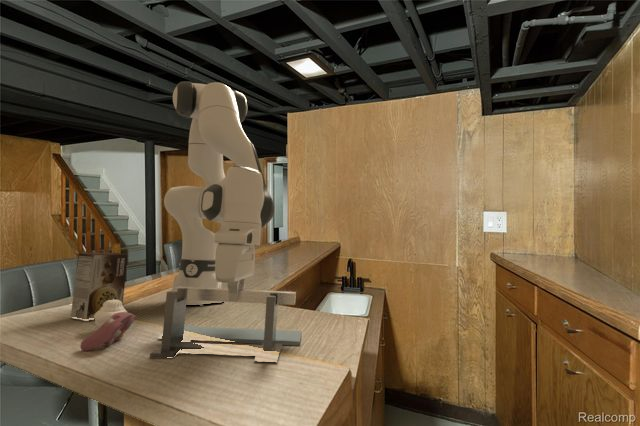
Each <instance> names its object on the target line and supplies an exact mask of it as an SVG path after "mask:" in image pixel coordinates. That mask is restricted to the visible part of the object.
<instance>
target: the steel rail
mask: <svg viewBox="0 0 640 426" xmlns="http://www.w3.org/2000/svg"><path fill="white" fill-rule="evenodd" d="M178 288H188V291H187V300H204V301H224V303H225V302H228V303H230V301H229V300H228V299H229V291H228V288H222V287H221V288H202V287H182V286H180V287H176V288H175V291H176V292H177V289H178ZM238 292H239V298H238V300H237V301H236V302H235V303H245V304H246V303H247V304H248V303H250V304H266V300H267V296H270V293H271V292H278V305H291V306H295V305H296V297H297V294H296V293H297V291H282V290H281V291H280V290H262V289H261V290H259V289H238Z"/></svg>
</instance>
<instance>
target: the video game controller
mask: <svg viewBox="0 0 640 426" xmlns="http://www.w3.org/2000/svg"><path fill="white" fill-rule="evenodd" d="M127 312H128V311H127ZM127 312H119V313H116V314H114V315H113V316H112V317H111V318H110V319H109V320H108V321H106V322H105V323H104V324H103V325H102V326H101V327H100V328H99V329H98V328H97V329H96V330H95V331H94V332H92V333H91V334H89V335H88V336H86V337H85V338H84V339H83V340H82V341H81V343H80V347H79V348H80V350H81V351H83V352H88V351H92V350H96V349H98V348H99V347H100V346H101V347H102V345H104V346H105V347H109V346H112V344H113V343H114V341H115V342H118V341H119V340H120V339H122V338H123V336H124V334H125V333H126V332H127V331H128V329H130V328H131V326H132V324H133V323H134V322H135V320H136V318H137V317H136V315H134V314H133V313H131V312H128V313H127ZM119 338H120V339H119ZM118 339H119V340H118ZM117 340H118V341H117Z"/></svg>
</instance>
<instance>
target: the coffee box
mask: <svg viewBox="0 0 640 426" xmlns="http://www.w3.org/2000/svg"><path fill="white" fill-rule="evenodd" d="M128 256H129V255H128V253H121V252H87V253H86V252H79V253H78V255H77V261H76V263H77V264H76V271H75V272H76V273H75V279H74V288H73V294H72V295H73V296H72V302H71V311H70V317H77V318H82V319H89V318H94V315H95V313H96V312H97V311H99V310H100V308H101V307H103V303H104V302H106V301H108V300H112V299H114V300H120V301H121V302H122V306H123V304H124V298H125V296H124V295H125V285H126V275H127V265H128ZM123 307H124V306H123Z"/></svg>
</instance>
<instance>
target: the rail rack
mask: <svg viewBox="0 0 640 426" xmlns="http://www.w3.org/2000/svg"><path fill="white" fill-rule="evenodd" d="M187 291H188V288H178V289H177V292H176V291H172V290H169V291H166V295H165V309H164V315H163V316H164V318H163V327H162V333H163V336H162V340H161V345H160V346H159V347H157V348H155V349H154V350H153V351H151V352H150V353H149V358H150V359H165V358H167V357H174V356H175V355H176V353H177V352H178V351H179V350H180V349H181V350H182V349H201V348H204V347H202V346H201V345H198V344H195V343H194V344H193V343H192V342H193V341H191V342H181V341H182V340H183V334H184V326H185V321H186V311H187V306H186V301H187ZM278 306H279V304H278V292H271V293H270V296H267V300H266V303H265V319H264V329H265V331H264V343H262V344H250V343H244V344H245V345H249V346H253V347H258V348H263V350H264V351H277V352H282V350H283V345H282V344H275V340H276V330H277V325H278V324H277V323H278V322H277V321H278Z"/></svg>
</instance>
